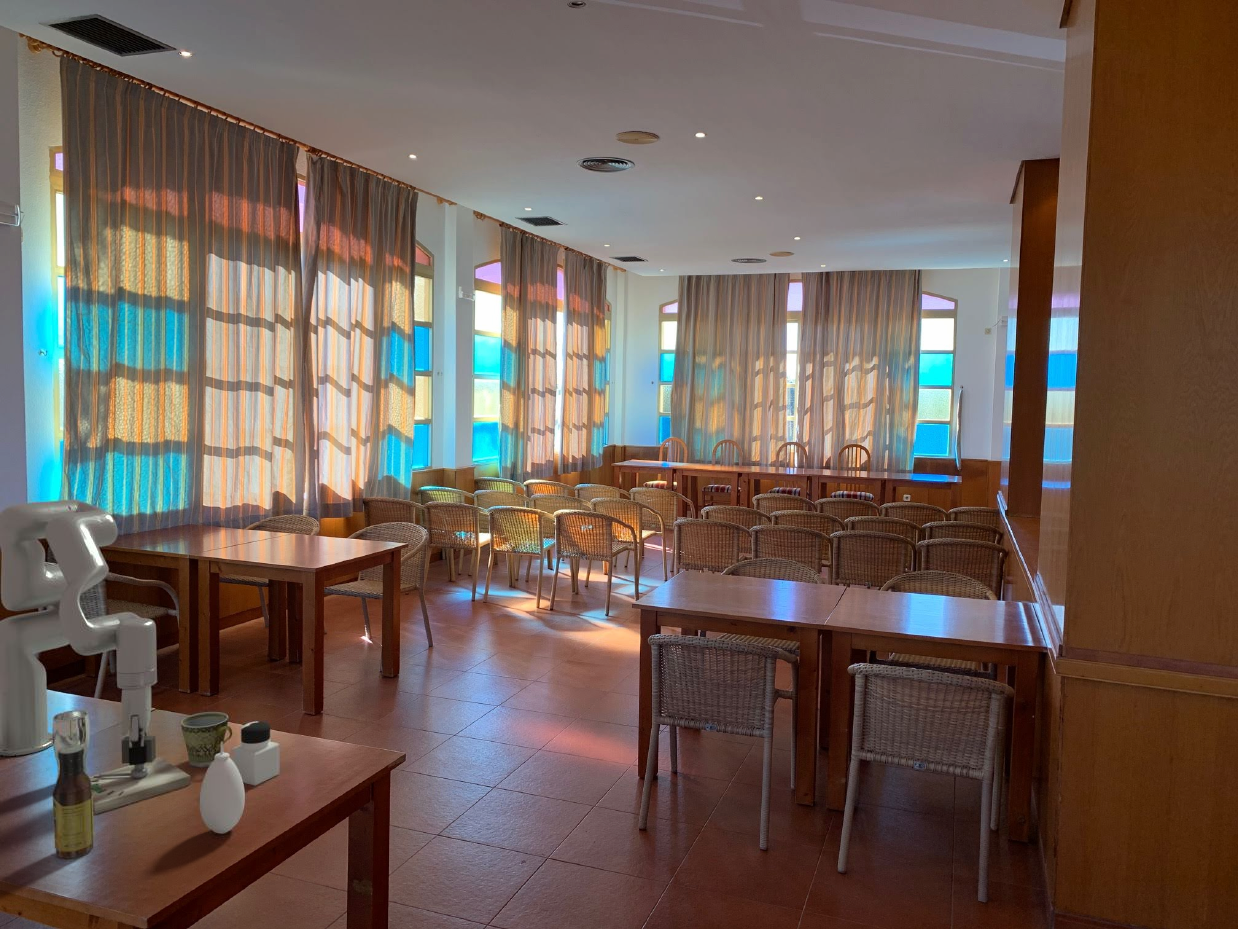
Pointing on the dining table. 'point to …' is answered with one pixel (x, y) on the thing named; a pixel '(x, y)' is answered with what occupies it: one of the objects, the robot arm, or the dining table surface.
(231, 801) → the white air blower bulb
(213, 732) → the ceramic cup
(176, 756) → the dining table surface
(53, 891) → the dining table surface
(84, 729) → the beer glass
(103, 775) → the grey block on stem
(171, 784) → the tuner board
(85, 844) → the sauce bottle
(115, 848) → the dining table surface
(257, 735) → the medicine bottle
